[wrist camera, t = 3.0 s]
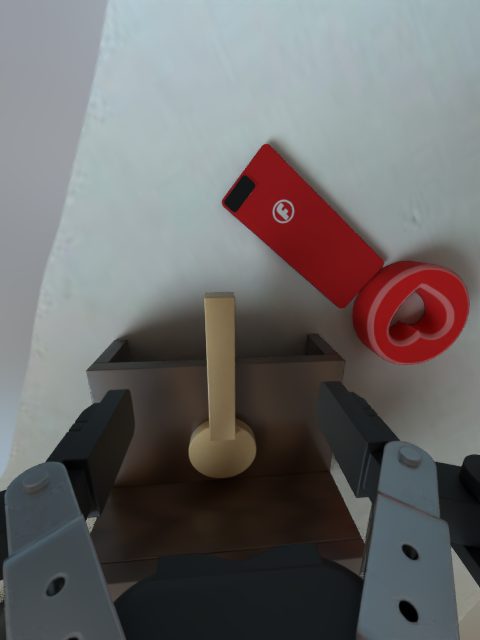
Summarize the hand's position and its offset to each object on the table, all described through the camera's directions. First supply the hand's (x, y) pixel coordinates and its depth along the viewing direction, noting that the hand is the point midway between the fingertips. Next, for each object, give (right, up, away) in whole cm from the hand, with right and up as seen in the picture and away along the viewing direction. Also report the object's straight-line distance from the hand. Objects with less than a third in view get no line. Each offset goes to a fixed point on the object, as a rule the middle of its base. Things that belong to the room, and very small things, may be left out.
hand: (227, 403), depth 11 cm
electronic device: (+6, +11, +13) cm, 18 cm away
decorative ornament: (+17, +5, +16) cm, 23 cm away
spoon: (-1, -3, +10) cm, 11 cm away
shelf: (-2, -7, +18) cm, 19 cm away
